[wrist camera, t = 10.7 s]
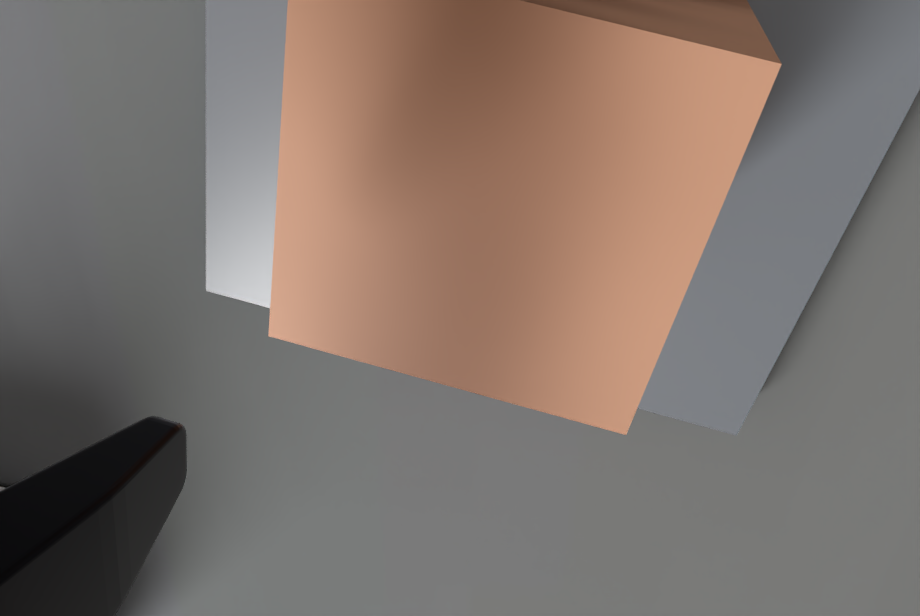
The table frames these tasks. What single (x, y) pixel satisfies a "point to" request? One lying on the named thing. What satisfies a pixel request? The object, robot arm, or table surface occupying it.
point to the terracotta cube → (508, 186)
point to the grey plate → (736, 228)
